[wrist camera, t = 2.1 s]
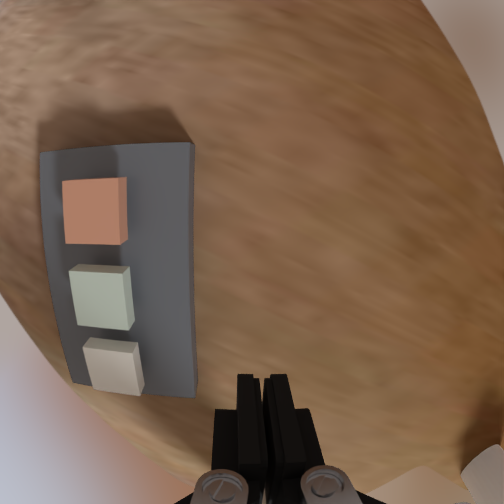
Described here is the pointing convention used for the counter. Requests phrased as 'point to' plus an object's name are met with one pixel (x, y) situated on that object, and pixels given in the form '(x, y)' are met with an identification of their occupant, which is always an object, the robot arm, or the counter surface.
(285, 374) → the robot arm
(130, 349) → the cream key
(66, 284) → the keypad
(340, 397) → the counter surface
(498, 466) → the bottle
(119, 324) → the sage key
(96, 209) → the terracotta key
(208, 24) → the counter surface
